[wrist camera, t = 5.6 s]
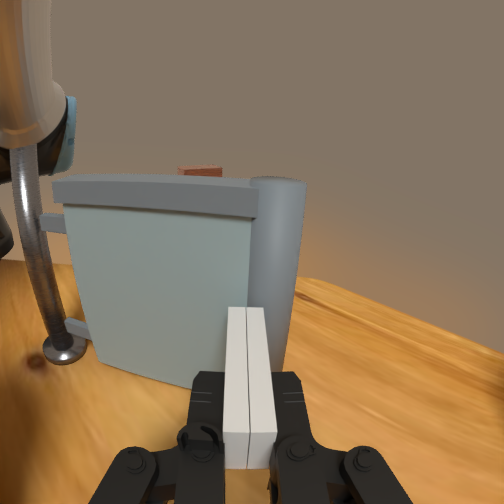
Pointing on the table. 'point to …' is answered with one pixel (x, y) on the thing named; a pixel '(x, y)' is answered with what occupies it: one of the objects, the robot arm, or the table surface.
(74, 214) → the gate
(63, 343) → the gate posts
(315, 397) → the table surface
